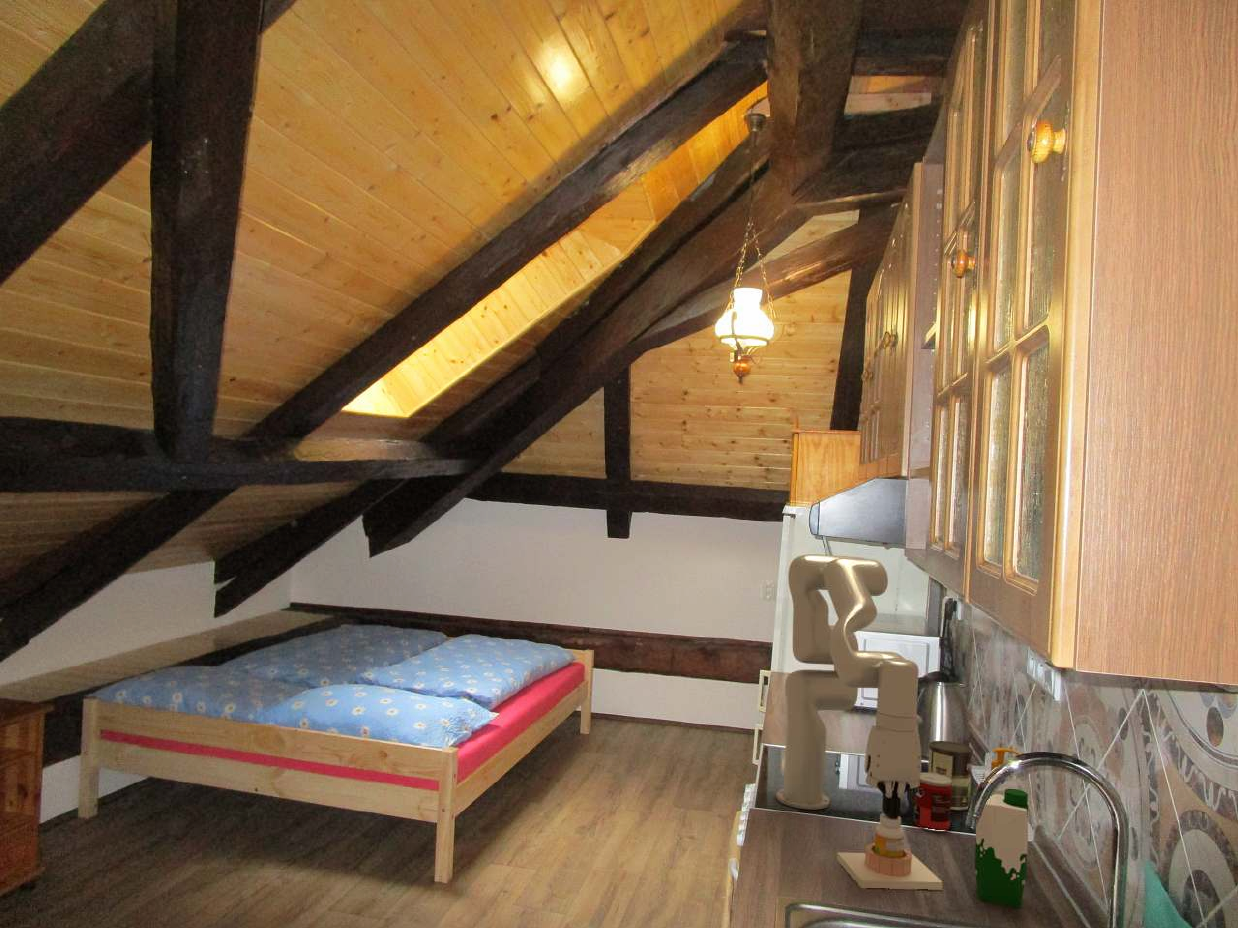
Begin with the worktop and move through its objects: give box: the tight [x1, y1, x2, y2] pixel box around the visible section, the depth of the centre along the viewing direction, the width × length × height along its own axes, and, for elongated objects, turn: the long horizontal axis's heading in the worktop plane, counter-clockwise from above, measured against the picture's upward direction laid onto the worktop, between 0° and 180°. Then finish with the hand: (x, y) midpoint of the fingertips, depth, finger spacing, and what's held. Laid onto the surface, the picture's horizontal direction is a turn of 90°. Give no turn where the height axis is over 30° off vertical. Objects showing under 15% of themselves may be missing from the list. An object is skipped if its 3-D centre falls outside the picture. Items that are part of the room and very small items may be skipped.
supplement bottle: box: [874, 812, 905, 858], centre depth 175 cm, size 5×5×10 cm
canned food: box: [913, 772, 952, 831], centre depth 204 cm, size 8×8×11 cm
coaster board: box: [836, 852, 943, 891], centre depth 175 cm, size 13×16×2 cm
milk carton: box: [974, 788, 1029, 909], centre depth 168 cm, size 9×9×20 cm
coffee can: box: [927, 740, 974, 811], centre depth 221 cm, size 10×10×14 cm
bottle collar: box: [864, 842, 913, 876], centre depth 175 cm, size 9×9×3 cm
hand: (890, 815), depth 175 cm, fingers closed
